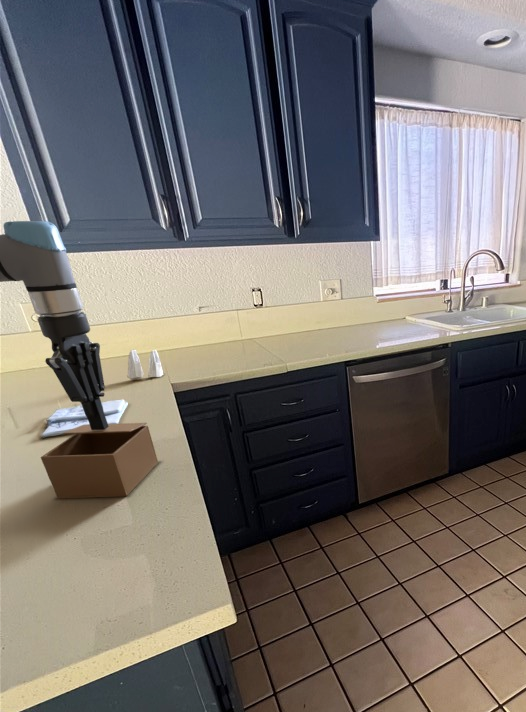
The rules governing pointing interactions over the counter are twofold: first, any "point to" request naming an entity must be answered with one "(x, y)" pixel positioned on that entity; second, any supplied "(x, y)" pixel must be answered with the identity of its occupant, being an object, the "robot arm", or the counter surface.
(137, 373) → the shaker set
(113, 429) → the flap
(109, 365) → the counter surface
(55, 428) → the snack bag
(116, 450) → the carton
